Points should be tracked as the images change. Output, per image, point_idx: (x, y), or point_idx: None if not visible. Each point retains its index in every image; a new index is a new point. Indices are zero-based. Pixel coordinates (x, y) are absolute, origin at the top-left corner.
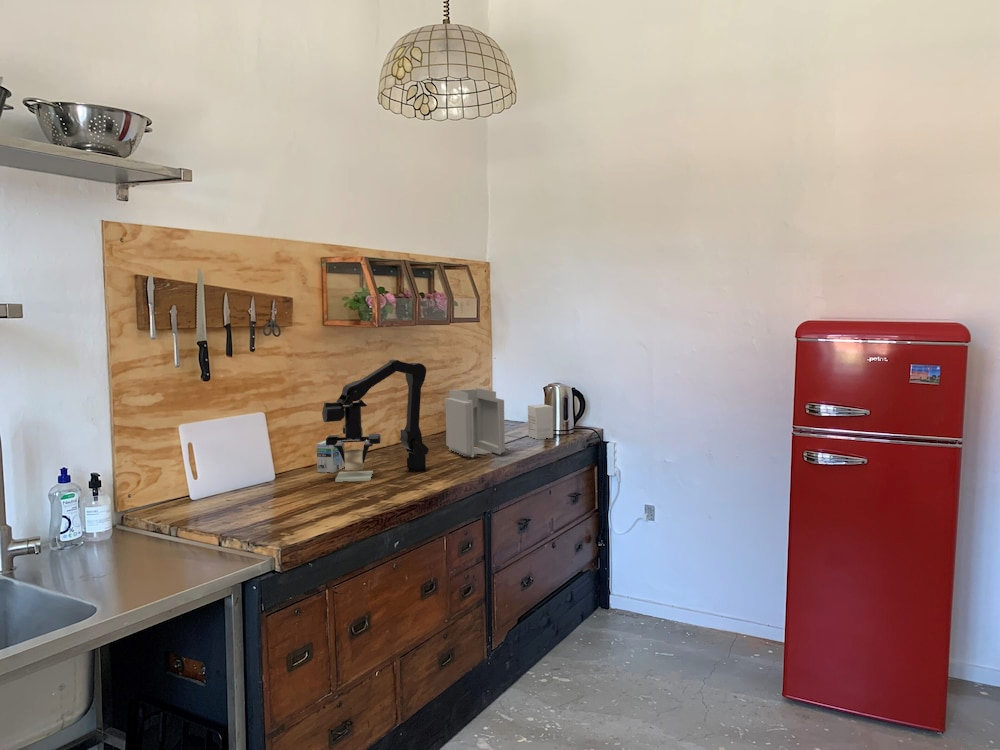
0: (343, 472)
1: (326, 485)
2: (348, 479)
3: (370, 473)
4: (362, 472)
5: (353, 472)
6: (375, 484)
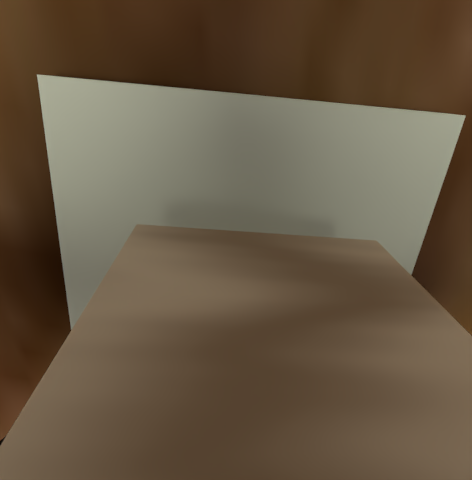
0: (103, 135)
1: None
2: None
3: (402, 258)
4: (329, 190)
5: (227, 165)
6: None
